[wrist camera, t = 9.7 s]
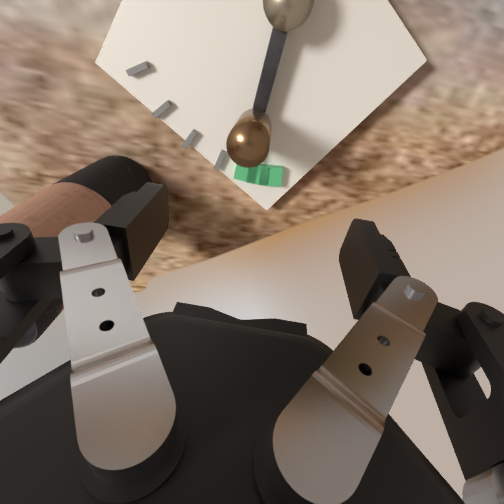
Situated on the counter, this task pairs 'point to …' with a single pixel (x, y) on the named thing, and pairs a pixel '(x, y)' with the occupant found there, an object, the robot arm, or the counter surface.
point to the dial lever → (265, 85)
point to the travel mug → (74, 211)
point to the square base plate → (248, 75)
